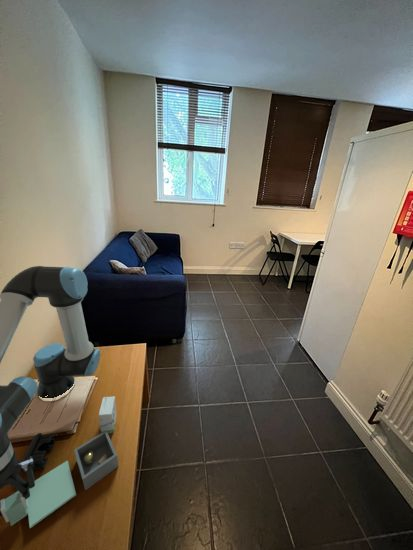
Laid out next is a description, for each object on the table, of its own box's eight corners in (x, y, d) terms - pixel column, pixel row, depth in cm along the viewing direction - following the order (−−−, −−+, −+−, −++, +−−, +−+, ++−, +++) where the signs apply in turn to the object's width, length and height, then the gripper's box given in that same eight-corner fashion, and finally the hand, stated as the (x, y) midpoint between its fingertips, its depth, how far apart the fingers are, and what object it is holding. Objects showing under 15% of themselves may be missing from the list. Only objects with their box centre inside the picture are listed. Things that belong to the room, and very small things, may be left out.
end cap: (35, 445, 86) (31, 433, 83) (56, 442, 87) (53, 430, 84) (21, 476, 77) (16, 464, 74) (44, 472, 78) (40, 460, 75)
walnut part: (99, 466, 80) (98, 461, 79) (106, 458, 83) (105, 453, 81) (104, 471, 79) (103, 466, 78) (111, 463, 81) (111, 458, 80)
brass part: (84, 461, 81) (82, 454, 80) (92, 455, 83) (91, 448, 82) (86, 468, 79) (85, 461, 78) (95, 462, 81) (94, 455, 80)
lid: (10, 499, 70) (3, 485, 67) (68, 463, 80) (64, 449, 77) (12, 543, 62) (5, 529, 59) (76, 496, 72) (73, 482, 69)
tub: (76, 461, 82) (74, 449, 79) (107, 441, 88) (106, 430, 86) (85, 491, 74) (82, 479, 71) (118, 467, 81) (117, 455, 78)
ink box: (114, 434, 91) (111, 414, 87) (101, 436, 90) (97, 416, 86) (117, 414, 99) (115, 395, 95) (105, 416, 98) (102, 396, 94)
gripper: (-55, 504, 49) (-23, 552, 58) (36, 452, 60) (52, 500, 69) (-51, 472, 54) (-21, 521, 63) (33, 430, 65) (48, 477, 74)
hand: (17, 510), depth 66 cm, fingers closed on lid, 3 cm apart
